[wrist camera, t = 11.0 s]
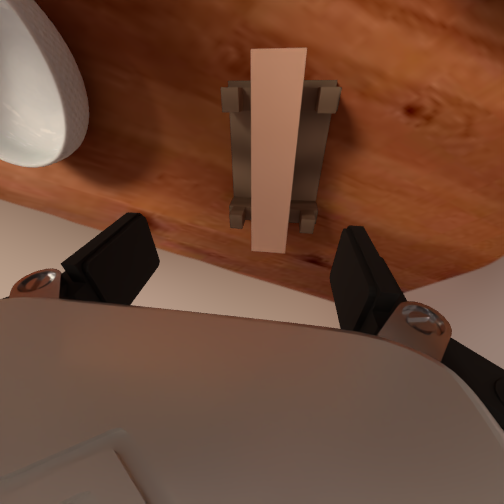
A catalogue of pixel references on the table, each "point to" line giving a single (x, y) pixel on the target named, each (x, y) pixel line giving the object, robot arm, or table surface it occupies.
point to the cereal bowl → (38, 89)
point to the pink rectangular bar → (274, 141)
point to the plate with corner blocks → (307, 150)
